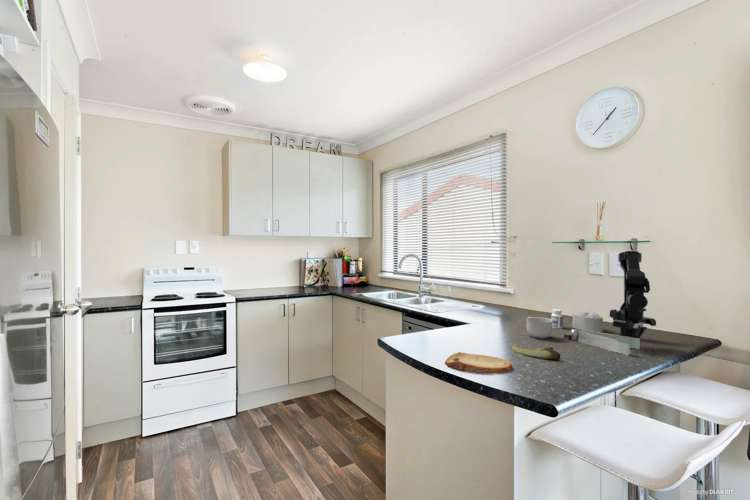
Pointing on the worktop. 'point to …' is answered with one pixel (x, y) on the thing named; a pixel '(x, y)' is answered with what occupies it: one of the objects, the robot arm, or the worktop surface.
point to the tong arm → (619, 338)
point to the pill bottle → (557, 319)
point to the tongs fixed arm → (599, 341)
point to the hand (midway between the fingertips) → (634, 343)
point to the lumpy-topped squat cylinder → (588, 321)
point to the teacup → (539, 327)
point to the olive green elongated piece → (538, 352)
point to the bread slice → (478, 363)
